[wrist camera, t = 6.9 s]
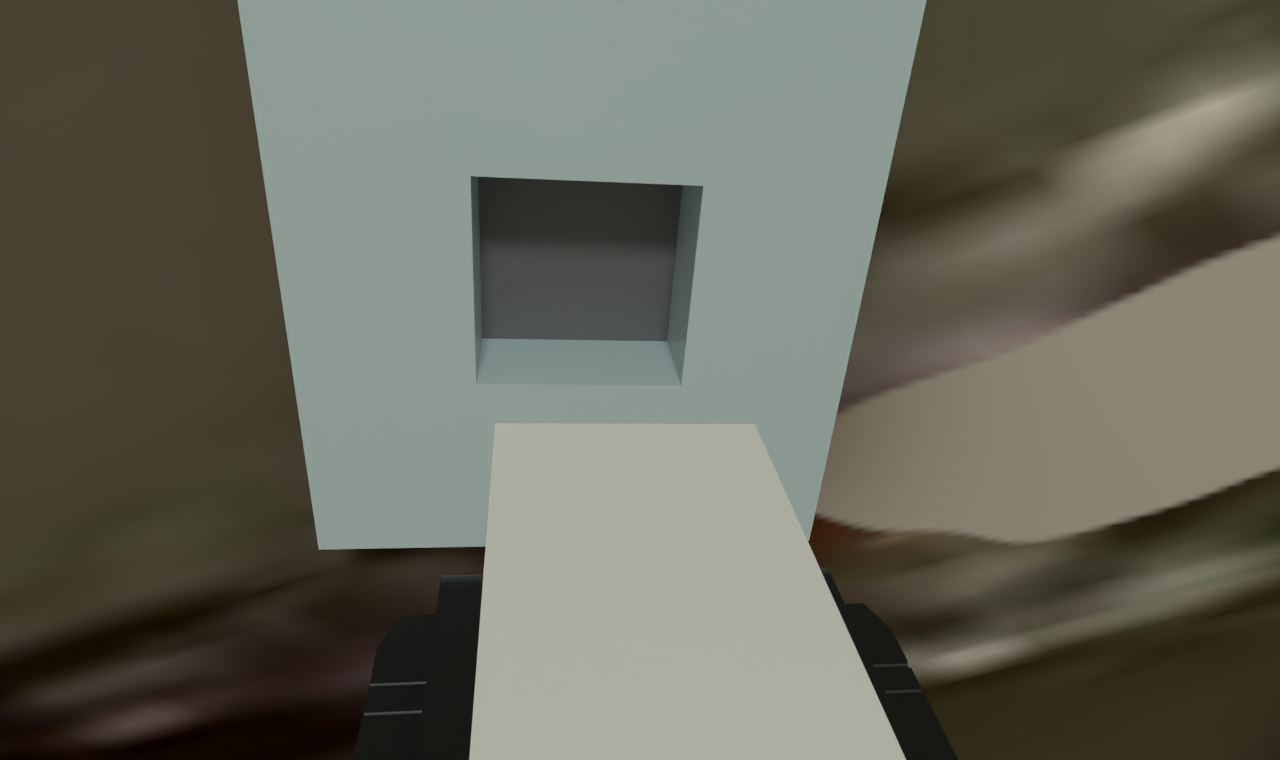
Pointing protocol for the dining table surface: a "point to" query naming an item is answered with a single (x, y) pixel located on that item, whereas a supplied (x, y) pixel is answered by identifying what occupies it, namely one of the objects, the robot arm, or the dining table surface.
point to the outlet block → (564, 229)
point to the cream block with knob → (658, 606)
